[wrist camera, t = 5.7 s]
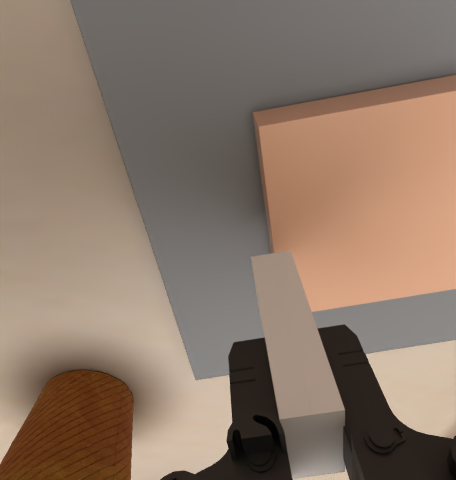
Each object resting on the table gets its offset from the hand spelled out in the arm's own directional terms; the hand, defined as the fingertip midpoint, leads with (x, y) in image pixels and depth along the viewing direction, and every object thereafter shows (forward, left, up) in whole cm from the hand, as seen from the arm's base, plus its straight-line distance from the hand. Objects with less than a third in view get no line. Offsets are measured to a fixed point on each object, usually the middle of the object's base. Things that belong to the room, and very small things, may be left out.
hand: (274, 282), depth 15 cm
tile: (0, 0, -4) cm, 4 cm away
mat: (0, +3, -6) cm, 7 cm away
